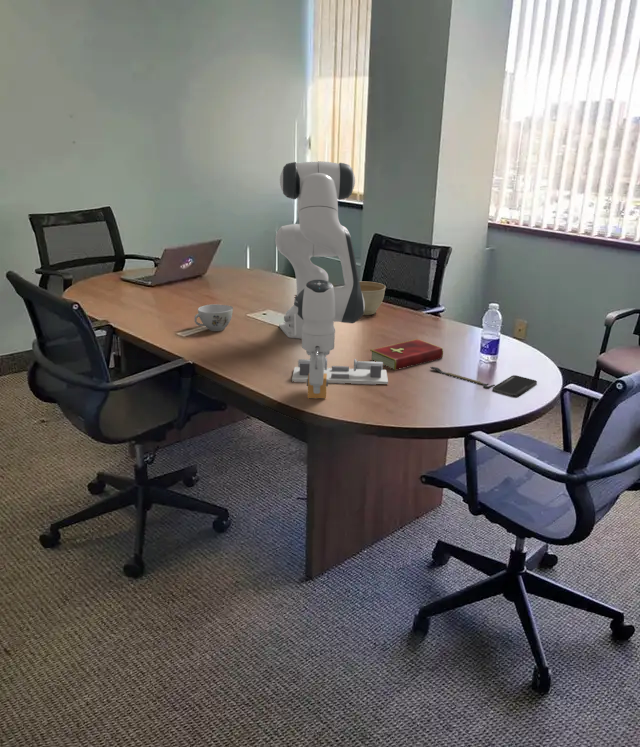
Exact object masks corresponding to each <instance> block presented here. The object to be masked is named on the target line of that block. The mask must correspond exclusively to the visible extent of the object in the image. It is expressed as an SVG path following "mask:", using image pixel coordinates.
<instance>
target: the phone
mask: <svg viewBox="0 0 640 747" xmlns="http://www.w3.org/2000/svg"><path fill="white" fill-rule="evenodd" d="M537 383H538V381H537V380H535V379H532V378H528V377H523V376H520V375H515V374H513V375H511V376H509V377H507V378H506V379H504V380H503V381H501V382H499V383H498V384H495V386H493V387H492V392H494V393H496V394H497V393H498V394H502V395H505V396H507V397H512V398H518V397H520V396H521V395H523V394H524V393H526V392H528V391H529V390H530V389H532V388H534V387H535V386H537Z"/></svg>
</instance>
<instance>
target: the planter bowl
mask: <svg viewBox="0 0 640 747" xmlns="http://www.w3.org/2000/svg"><path fill="white" fill-rule="evenodd" d="M359 283H360V287H361V292H362V294H363V298H364V302H365V309H364V314H363V316H370V315H374V314H376V312H377V310H378V309H379V307H380V306H381V305H382V303H383V301H384V297H385V294H386V293H385V291H386V285H385V284H383V283H380V282H375V281H374V282H373V281H362V280H359Z"/></svg>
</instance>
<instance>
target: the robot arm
mask: <svg viewBox="0 0 640 747" xmlns="http://www.w3.org/2000/svg"><path fill="white" fill-rule="evenodd" d="M279 185H280V188H281V191H282V194H283V195H284V196H285V197H286V198H288V199H290V200H291V199H292V200H297V214H298V215H297V216H298V222H299V223H291V224H286V225H281V226H280V227H279V229H278V230H277V231H276V234H275V241H274V243H275V246H276V249H277V250H278V252H279V253H280V254H281V255H282V256H284V257H285V258H286V259H287V260H288V262H289V263H290V264H291V266H292V268H293V270H294V274H295V279H296V280H295V281H296V294H294V295H293V296H294V301H293V302H294V303H293V306H291V307H290V308H289V309H287V311H286V312H285V315H284V316H283V321H284V322H281V323H279V326H278V327H279V328H280V329H281V331H282V332H283V333H284V334H285V336H287V338H290V339H301V348H302V349H303V350H304V351H306V352H305V353H306V355H308V356H309V360H310V366H309V384H310V385H313V392H314V393H317V394H319V393H320V386H321V385H323V379H324V368H325V359H326V358H327V356H329V354H330V352H331V351H332V350H334V349H335V337H336V336H335V333H336V328H335V326H334V323H335V322H341V323H346V324H355V323H356V322H358V321H359V320H360V319H361V318H362V317H363V316H364V315H363V314H364V309H365V302H364V298H363V294H362V292H361V287H360V283H359V282H360V278H359V272H358V267H357V266H358V265H357V261H356V256H355V251H354V245H353V241H352V236H351V234H350V231H349V230H348V228H347V227H346V226H344V225H342V224H341V223H340V218H339V202H338V201H339V200H341V201H342V200H345V199H349V197H351V195H352V193H353V191H354V189H355V186H356V177H355V173H354V171H353V168H352V167H351V165H350V164H347V163H345V162H339V163H337V162H330V161H303V162H297V161H293V162H288V163H286V164H285V165H284V166H283V168H282V171H281V173H280V176H279ZM314 257H315V258H322V257H323V258H324V257H326V258H332V257H338V259H339V261H340V264H341V269H342V276H343V281H344V285H343V286H334V285H333V283H332V282H331V281H329V274H328V272H327V271H326V270H325V269H324V268H322V267H321V266H318V265H316V264H315V263H313V262H312V261H311V259H312V258H314Z"/></svg>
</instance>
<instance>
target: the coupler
mask: <svg viewBox="0 0 640 747" xmlns="http://www.w3.org/2000/svg"><path fill="white" fill-rule="evenodd" d="M306 386H307V399H309V398H326V399H327V387H328V386H329V383H328V379H327V374H324V379H323V385H321V386H320V393H319V394H317V393H314V392H313V385H310V384H309V375H308V379H307V382H306Z"/></svg>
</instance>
